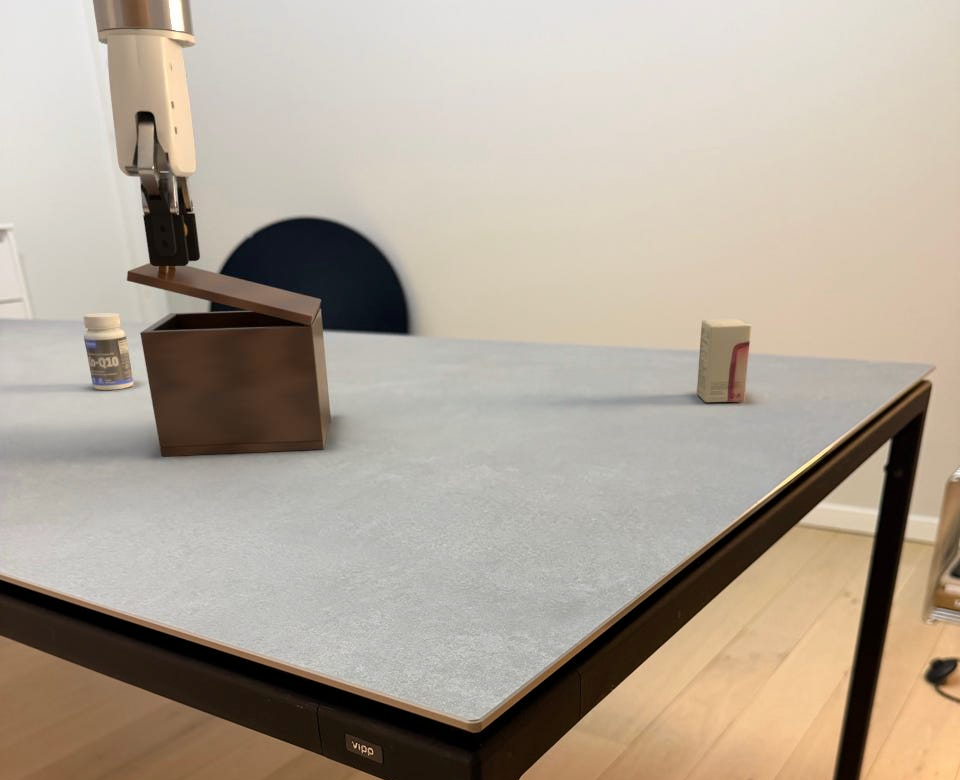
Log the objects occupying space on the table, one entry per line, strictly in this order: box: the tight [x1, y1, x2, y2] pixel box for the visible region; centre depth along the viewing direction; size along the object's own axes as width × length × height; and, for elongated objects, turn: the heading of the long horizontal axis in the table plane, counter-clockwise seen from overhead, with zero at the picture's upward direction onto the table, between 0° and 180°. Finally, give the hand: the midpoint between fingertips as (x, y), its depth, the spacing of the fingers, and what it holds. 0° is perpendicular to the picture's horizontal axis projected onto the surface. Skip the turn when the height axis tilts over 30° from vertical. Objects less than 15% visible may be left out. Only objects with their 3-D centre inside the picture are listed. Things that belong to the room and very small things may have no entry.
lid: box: [126, 223, 322, 325], centre depth 85 cm, size 15×13×5 cm
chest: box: [139, 307, 332, 457], centre depth 90 cm, size 15×13×11 cm
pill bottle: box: [83, 312, 135, 391], centre depth 114 cm, size 5×5×8 cm
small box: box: [696, 318, 752, 403], centre depth 101 cm, size 5×4×8 cm
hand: (176, 260), depth 85 cm, fingers closed on lid, 5 cm apart
